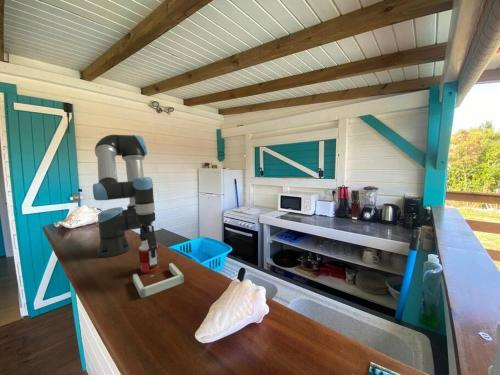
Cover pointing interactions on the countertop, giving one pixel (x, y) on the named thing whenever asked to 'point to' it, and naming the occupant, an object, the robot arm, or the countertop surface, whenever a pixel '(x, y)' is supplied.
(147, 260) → the canned food
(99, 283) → the countertop surface
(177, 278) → the bay
